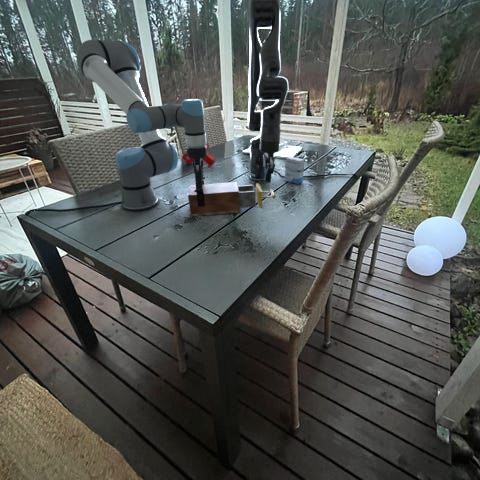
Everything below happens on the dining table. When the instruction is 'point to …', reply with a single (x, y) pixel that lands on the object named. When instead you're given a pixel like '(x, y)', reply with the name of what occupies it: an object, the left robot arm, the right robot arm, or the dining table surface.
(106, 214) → the dining table surface
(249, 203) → the drawer
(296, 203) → the dining table surface
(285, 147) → the relief map
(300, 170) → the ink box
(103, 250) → the dining table surface
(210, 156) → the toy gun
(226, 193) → the cabinet
